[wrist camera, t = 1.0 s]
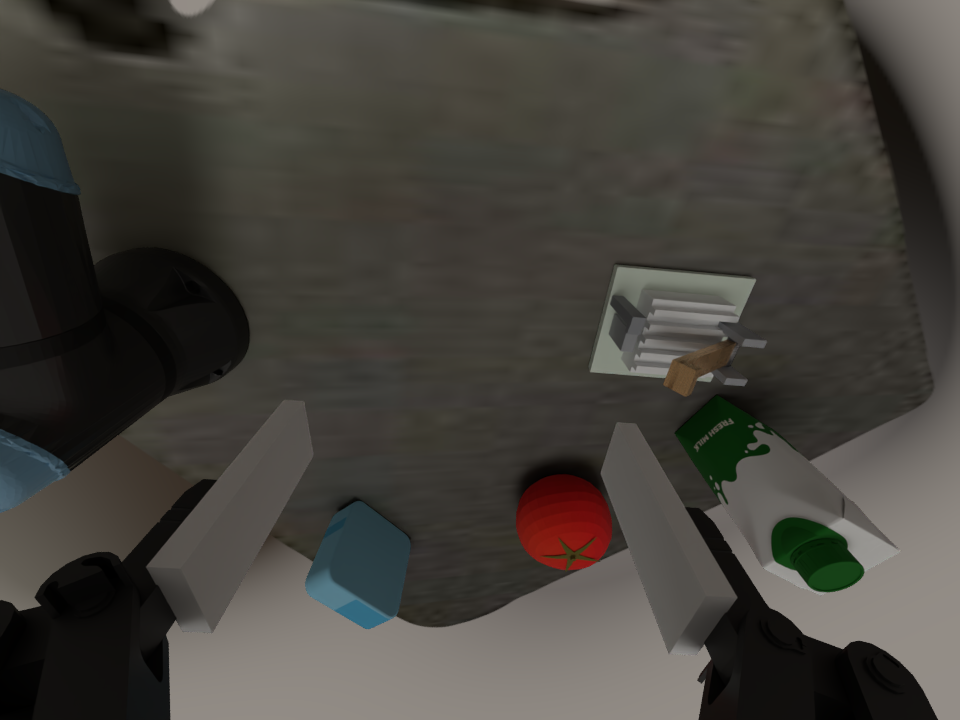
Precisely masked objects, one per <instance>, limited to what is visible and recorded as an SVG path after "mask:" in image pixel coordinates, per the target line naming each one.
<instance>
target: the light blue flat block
mask: <svg viewBox="0 0 960 720" xmlns="http://www.w3.org/2000/svg"><path fill="white" fill-rule="evenodd" d="M410 549H411V544H410V540H409V538H408V536H407V535H406V534H405V533H403V532H402V531H401V530H399V529H398V528H397V527H395V526H394V525H393V524H392V523H390V522H389V521H388V520H386V519H385V518H384V517H382V516H381V515H380V514H378V513H377V512H376V511H374V510H373V509H372V508H370V507H369V506H368V505H366V504H365V503H364V502H362V501H356V502H354V503H352V504H351V505H349V506H347V507H346V508H344V509H343V510H341V511H339V512H338V513H336V514H335V515H334V516H333V518H332V520H331V522H330V524H329V527H328V529H327V531H326V534H325V536H324V538H323V541H322V543H321V545H320V548H319V550H318V552H317V555H316V557H315V559H314V562H313V564H312V566H311V569H310V571H309V573H308V576H307V578H306V582H305V587H306V591H307V593H308V594H309V595H310V597H312V598H314V599H315V600H317V601H319V602H320V603H322V604H324V605H326V606H327V607H329V608H331V609H332V610H334V611H336V612H337V613H339V614H341V615H343V616H344V617H346V618H348V619H349V620H351V621H353V622H355V623H356V624H358V625H360V626H362V627H363V628H365V629H371V628H373V627H375V626H377V625H379V624H381V623H384V622H386V621H388V620H390V619H392V618H394V617H395V616H396V615H397V613H398V610H399V605H400V600H401V595H402V590H403V585H404V580H405V574H406V569H407V564H408V559H409V554H410Z"/></svg>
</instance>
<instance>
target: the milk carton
mask: <svg viewBox="0 0 960 720" xmlns="http://www.w3.org/2000/svg"><path fill="white" fill-rule="evenodd" d="M675 435H676V436H677V438H678V439H679V441H680V442H681V444H682V446H683V447H684V449H685V450H686V452H687V453H688V455H689V457H690V458H691V460H692V461H693V463H694V464H695V466H696V467H697V469H698V470H699V472H700V473H701V475H702V476H703V478H704V479H705V481H706V482H707V483H708V485H709V486H710V488H711V489H712V491H713V492H714V494H715V495H716V496H717V498H718V499H719V501H720V502H721V504H722V505H723V507H724V508H725V509H726V511H727V512H728V514H729V515H730V517H731V518H732V520H733V521H734V522H735V524H736V525H737V527H738V528H739V529H740V531H741V533H742V534H743V535H744V537H745V539H746V540H747V542H748V543H749V545H750V547H751V549H752V550H753V552H754V554H755V555H756V557H757V559H758V561H759V562H760V564H761V566H762V567H763V569H765V570H767V571H769V572H771V573H773V574H775V575H777V576H779V577H781V578H783V579H785V580H787V581H789V582H791V583H793V584H794V585H795V586H798V587H799V588H802V589H804V588H805V589H807V590H809V591H811V592H813V593H815V594H818V595H820V596H822V595H823V594H825V593H827V592H835V591H839V590H842V589H845V588H848V587H850V586H852V585H853V584H855V583H857V582H858V581H859V580H860V579H861V578H862V576H863V574H864V572H865V571H867V570H869V569H871V568H873V567H874V566H876V565H878V564H880V563H882V562H884V561H885V560H887V559H889V558H891V557H893V556H895V555H896V554H898V553H900V552H901V551H900V550H899V549H898V548H897V547H896V546H895V545H894V544H893V543H892V542H891V541H890V540H889V539H888V538H887V537H886V536H885V535H884V534H883V533H882V532H881V531H880V530H879V529H878V528H877V527H876V526H875V525H874V524H873V523H871V521H870V520H869V519H868V517H867V516H866V515H865V514H864V513H863V512H862V511H861V509H860V508H859V507H858V506H857V505H856V504H855V503H854V502H853V501H851V500H849V499H848V498H847V497H846V496H845V495H844V494H843V493H842V492H841V491H840V490H839V489H838V488H837V487H836V486H835V485H834V484H833V483H832V482H831V481H830V480H828V479H827V478H826V477H825V476H824V475H823V474H822V473H821V472H820V471H819V470H818V469H817V468H815V467H814V466H813V465H812V464H811V463H810V462H809V461H808V460H807V459H806V458H805V457H804V456H803V455H802V454H800V453H799V452H798V451H797V450H796V449H795V448H794V447H793V446H792V445H791V444H790V443H789V442H787V441H786V440H785V439H784V438H783V437H782V436H781V435H779V434H778V433H777V432H776V431H774V430H773V429H771V428H770V427H768V426H767V425H765V424H763V423H762V422H760V421H759V420H757V419H755V418H754V417H752V416H750V415H749V414H747V413H746V412H744V411H742V410H741V409H739V408H737V407H736V406H734V405H733V404H731V403H729V402H728V401H726V400H724V399H723V398H721V397H720V396H718V395H716V396H715V397H714V398H712V399H711V400H710V401H709V402H708V403H707V404H706V405H705V406H704V407H703V408H702V409H700V410H699V411H698V412H697V413H696V414H695V415H694V416H693V417H692V418H691V419H690V420H688V421H687V422H686V423H685V424H684V425H683V426H682V427H681V428H680V429H679V430H678V431H676V432H675Z"/></svg>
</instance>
